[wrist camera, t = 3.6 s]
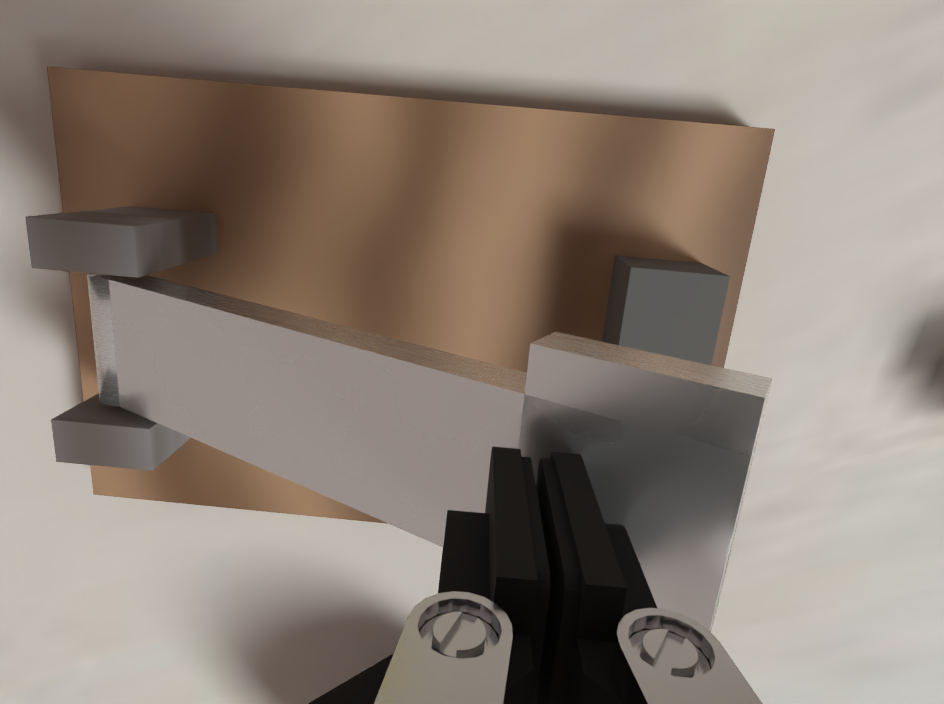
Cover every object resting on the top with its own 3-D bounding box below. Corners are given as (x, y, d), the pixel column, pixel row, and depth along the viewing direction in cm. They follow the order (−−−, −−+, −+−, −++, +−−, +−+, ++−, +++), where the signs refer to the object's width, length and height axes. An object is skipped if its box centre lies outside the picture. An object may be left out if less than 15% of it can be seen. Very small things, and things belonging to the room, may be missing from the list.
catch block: (701, 262, 21) (730, 276, 18) (666, 446, 23) (687, 481, 21) (614, 255, 21) (631, 267, 19) (587, 439, 23) (598, 473, 21)
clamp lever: (773, 376, 11) (763, 401, 9) (705, 655, 12) (690, 711, 11) (125, 236, 19) (71, 239, 18) (139, 412, 21) (91, 426, 20)
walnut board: (756, 131, 21) (862, 116, 15) (673, 531, 26) (728, 646, 20) (76, 73, 22) (-94, 34, 15) (115, 476, 26) (-4, 572, 20)
